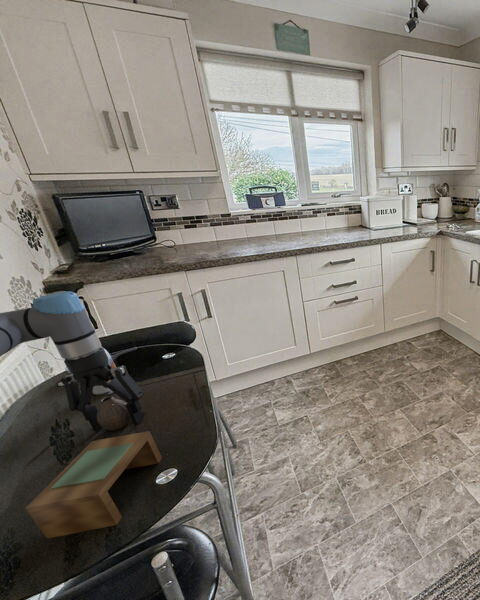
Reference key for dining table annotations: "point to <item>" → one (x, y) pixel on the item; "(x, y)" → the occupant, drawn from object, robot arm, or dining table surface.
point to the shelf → (90, 485)
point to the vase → (113, 414)
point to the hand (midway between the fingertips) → (119, 424)
